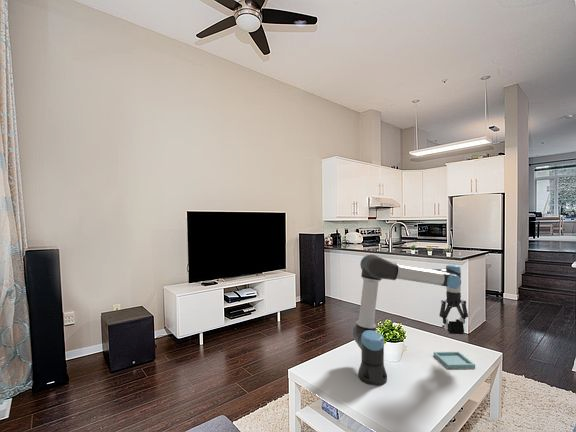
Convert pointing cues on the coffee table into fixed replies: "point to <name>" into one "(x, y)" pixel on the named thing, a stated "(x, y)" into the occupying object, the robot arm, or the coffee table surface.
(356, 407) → the coffee table surface
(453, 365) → the tray
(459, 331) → the toy
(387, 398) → the coffee table surface
